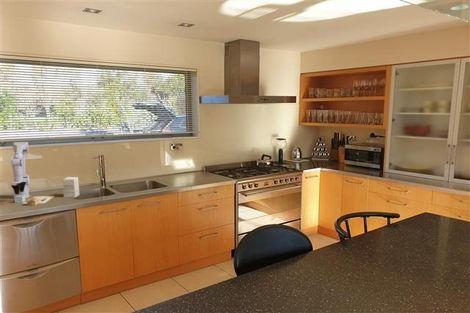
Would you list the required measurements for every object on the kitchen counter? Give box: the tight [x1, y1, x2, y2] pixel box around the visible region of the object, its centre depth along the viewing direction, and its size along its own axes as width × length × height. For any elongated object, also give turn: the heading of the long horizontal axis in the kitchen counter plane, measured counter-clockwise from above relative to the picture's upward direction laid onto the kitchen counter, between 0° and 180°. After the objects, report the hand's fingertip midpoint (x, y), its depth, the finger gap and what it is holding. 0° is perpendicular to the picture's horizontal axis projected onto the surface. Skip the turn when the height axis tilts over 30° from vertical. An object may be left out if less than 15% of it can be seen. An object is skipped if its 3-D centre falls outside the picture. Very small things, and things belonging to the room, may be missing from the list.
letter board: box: [22, 195, 55, 205], centre depth 254 cm, size 15×21×1 cm
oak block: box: [25, 197, 40, 206], centre depth 241 cm, size 6×5×4 cm
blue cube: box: [14, 195, 27, 204], centre depth 247 cm, size 5×5×5 cm
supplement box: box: [62, 176, 80, 198], centre depth 265 cm, size 9×9×15 cm
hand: (19, 193), depth 247 cm, fingers open, 7 cm apart
